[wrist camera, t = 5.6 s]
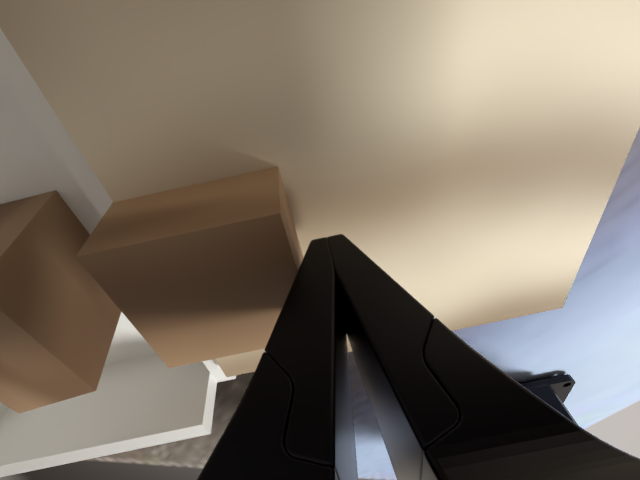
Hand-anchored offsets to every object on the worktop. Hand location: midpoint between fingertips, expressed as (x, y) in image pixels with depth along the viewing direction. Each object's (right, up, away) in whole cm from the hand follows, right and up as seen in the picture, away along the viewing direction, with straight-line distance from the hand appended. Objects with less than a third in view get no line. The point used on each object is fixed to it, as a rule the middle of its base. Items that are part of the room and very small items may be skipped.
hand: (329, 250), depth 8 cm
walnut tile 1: (-7, -1, +1) cm, 7 cm away
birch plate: (+1, +2, +3) cm, 4 cm away
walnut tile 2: (-3, 0, +1) cm, 3 cm away
